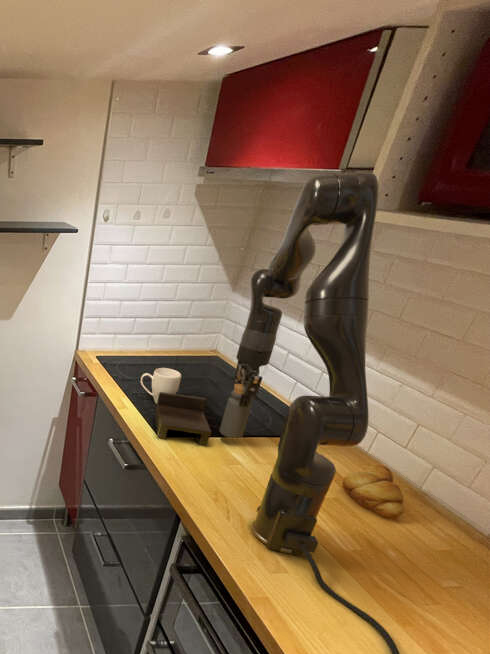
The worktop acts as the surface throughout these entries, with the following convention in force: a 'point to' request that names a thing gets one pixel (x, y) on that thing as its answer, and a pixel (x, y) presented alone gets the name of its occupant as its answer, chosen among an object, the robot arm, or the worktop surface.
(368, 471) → the bread roll
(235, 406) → the bottle
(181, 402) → the dark brown legged piece
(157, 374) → the mug
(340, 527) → the worktop surface
